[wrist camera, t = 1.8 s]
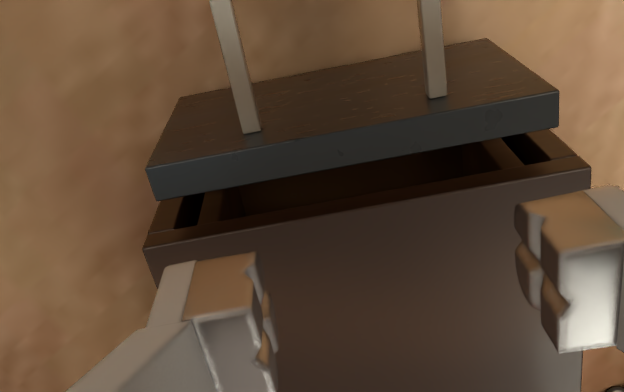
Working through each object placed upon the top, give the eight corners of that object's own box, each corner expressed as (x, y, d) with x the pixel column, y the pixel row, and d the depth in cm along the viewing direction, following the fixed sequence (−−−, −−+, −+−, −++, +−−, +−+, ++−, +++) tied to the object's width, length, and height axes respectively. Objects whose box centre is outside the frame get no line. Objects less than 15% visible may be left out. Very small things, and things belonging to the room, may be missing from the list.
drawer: (133, -55, 21) (73, -33, 15) (480, -127, 21) (564, -134, 14) (254, 346, 30) (247, 462, 24) (498, 304, 30) (554, 412, 23)
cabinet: (183, 140, 26) (141, 248, 18) (496, 80, 25) (592, 166, 17) (258, 382, 33) (251, 537, 25) (505, 340, 32) (577, 485, 24)
